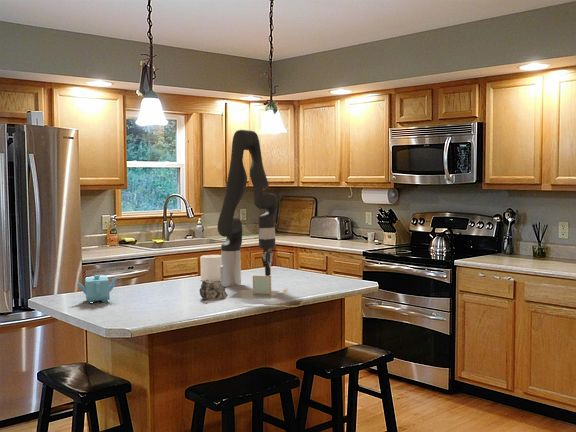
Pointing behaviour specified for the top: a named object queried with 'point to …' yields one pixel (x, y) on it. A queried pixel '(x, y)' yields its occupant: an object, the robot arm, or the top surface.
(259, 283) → the tile
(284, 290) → the turner
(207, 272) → the cup
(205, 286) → the rock
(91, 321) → the top surface
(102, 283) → the teapot
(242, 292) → the board
